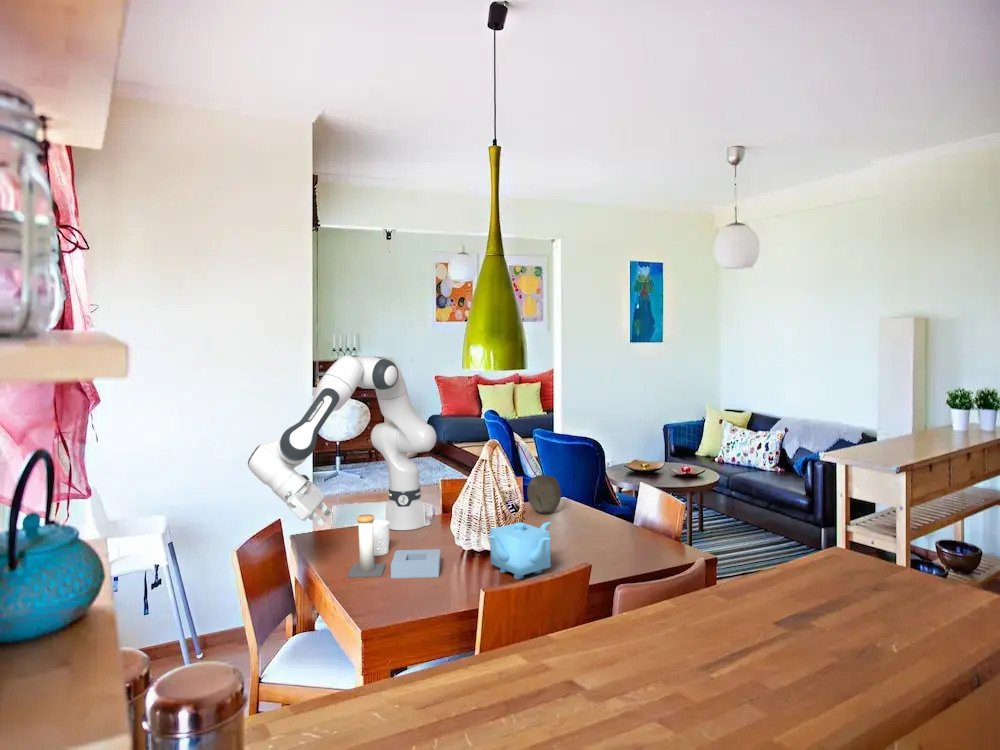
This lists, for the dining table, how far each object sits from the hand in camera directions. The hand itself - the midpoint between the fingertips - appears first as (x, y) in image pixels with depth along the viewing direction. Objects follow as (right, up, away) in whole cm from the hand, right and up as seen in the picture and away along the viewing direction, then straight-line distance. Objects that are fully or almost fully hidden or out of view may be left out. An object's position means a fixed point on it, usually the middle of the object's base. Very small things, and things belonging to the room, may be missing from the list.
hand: (326, 519), depth 211 cm
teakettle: (+60, -15, -3) cm, 62 cm away
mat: (+12, -16, -1) cm, 20 cm away
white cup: (+13, -15, +17) cm, 26 cm away
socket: (+27, -15, 0) cm, 31 cm away
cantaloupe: (+71, -11, +66) cm, 97 cm away
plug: (+12, -15, 0) cm, 20 cm away
